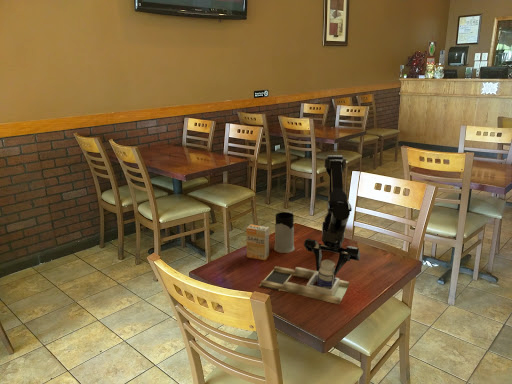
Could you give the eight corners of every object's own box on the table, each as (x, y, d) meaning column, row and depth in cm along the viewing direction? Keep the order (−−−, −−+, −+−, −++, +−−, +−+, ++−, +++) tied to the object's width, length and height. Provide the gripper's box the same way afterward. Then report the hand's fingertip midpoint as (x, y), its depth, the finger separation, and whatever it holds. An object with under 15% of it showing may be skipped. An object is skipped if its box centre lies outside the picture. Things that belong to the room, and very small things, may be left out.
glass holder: (270, 250, 167) (270, 217, 162) (282, 238, 179) (282, 206, 174) (290, 254, 163) (291, 220, 159) (301, 241, 176) (302, 209, 171)
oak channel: (261, 285, 140) (260, 277, 139) (275, 269, 151) (275, 262, 150) (339, 304, 128) (339, 296, 127) (348, 285, 139) (349, 277, 138)
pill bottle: (323, 281, 140) (326, 257, 137) (336, 288, 137) (340, 263, 133) (313, 287, 136) (316, 262, 133) (327, 295, 133) (330, 269, 129)
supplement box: (246, 257, 161) (245, 227, 157) (250, 252, 165) (250, 223, 161) (265, 261, 158) (265, 230, 154) (269, 256, 162) (269, 226, 158)
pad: (316, 296, 133) (316, 295, 133) (324, 282, 141) (324, 282, 141) (340, 301, 130) (340, 301, 130) (347, 287, 138) (347, 287, 138)
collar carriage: (305, 291, 135) (306, 285, 134) (314, 279, 143) (314, 273, 142) (332, 297, 131) (332, 291, 130) (339, 284, 139) (339, 278, 138)
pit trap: (259, 286, 140) (259, 285, 140) (275, 268, 152) (275, 267, 152) (279, 291, 136) (279, 289, 136) (294, 272, 148) (294, 271, 148)
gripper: (306, 217, 136) (293, 259, 130) (360, 225, 128) (350, 271, 122) (312, 229, 146) (301, 270, 140) (364, 238, 138) (354, 281, 132)
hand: (325, 273), depth 133 cm, fingers closed on pill bottle, 6 cm apart
